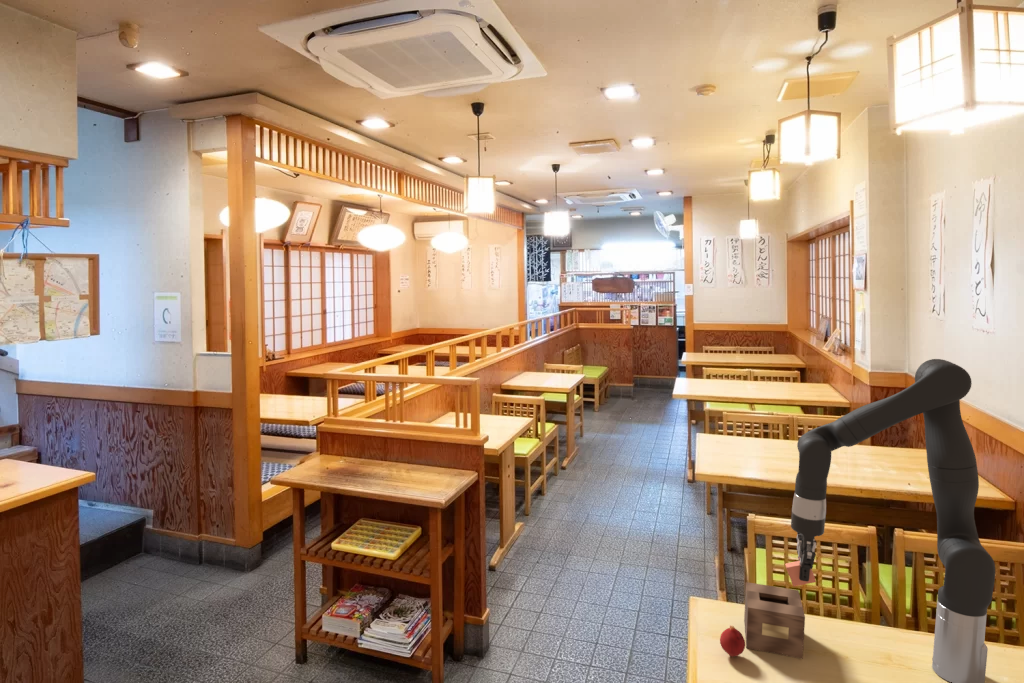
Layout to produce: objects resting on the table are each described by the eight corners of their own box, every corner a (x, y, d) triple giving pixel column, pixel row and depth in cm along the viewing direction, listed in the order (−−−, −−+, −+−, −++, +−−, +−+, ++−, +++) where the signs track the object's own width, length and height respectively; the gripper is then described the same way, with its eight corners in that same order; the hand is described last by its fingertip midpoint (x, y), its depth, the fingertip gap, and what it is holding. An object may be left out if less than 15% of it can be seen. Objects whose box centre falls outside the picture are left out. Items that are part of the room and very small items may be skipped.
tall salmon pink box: (792, 581, 152) (814, 577, 150) (793, 586, 149) (816, 582, 148) (785, 563, 152) (807, 559, 150) (786, 567, 150) (808, 563, 148)
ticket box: (796, 629, 158) (798, 590, 156) (802, 659, 145) (805, 617, 144) (744, 619, 162) (745, 582, 161) (746, 648, 150) (748, 607, 148)
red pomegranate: (740, 649, 149) (741, 619, 148) (747, 664, 144) (748, 633, 143) (717, 648, 150) (718, 618, 149) (722, 662, 144) (724, 632, 143)
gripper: (830, 526, 140) (824, 594, 142) (820, 504, 153) (815, 567, 155) (795, 521, 142) (790, 588, 144) (789, 500, 155) (784, 562, 157)
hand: (803, 577), depth 150 cm, fingers closed on tall salmon pink box, 2 cm apart
